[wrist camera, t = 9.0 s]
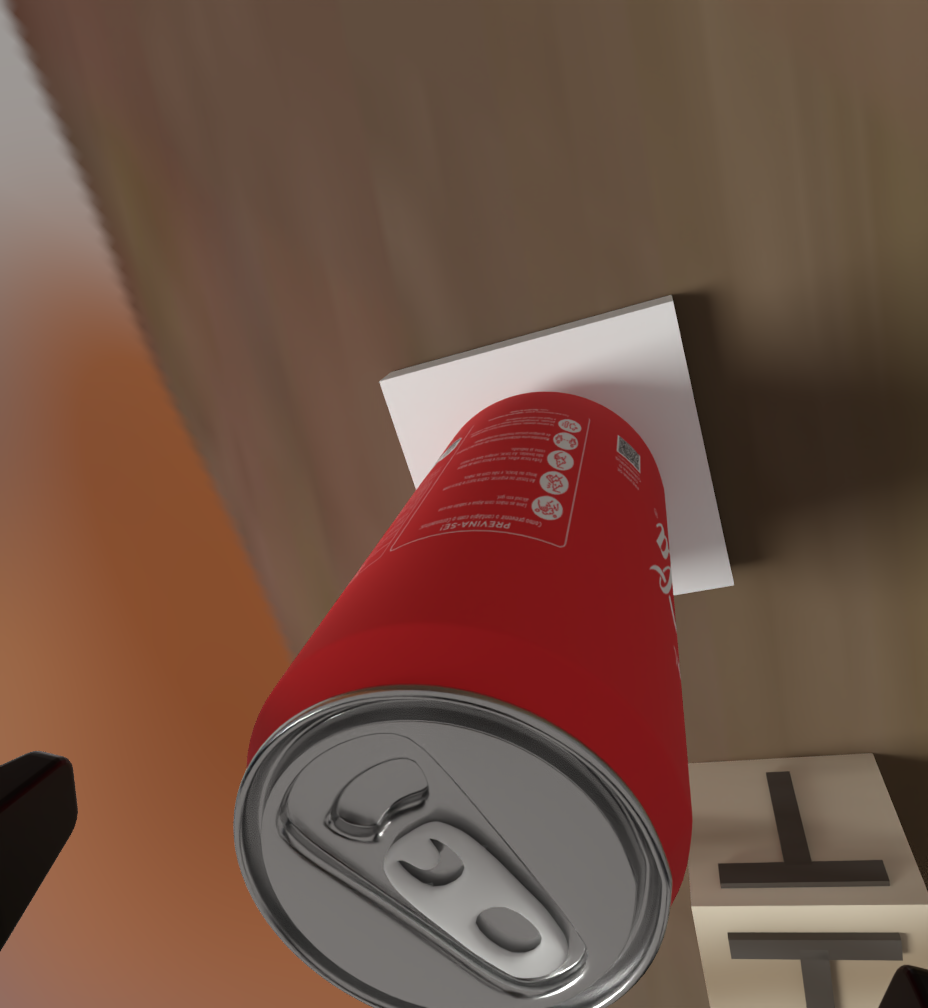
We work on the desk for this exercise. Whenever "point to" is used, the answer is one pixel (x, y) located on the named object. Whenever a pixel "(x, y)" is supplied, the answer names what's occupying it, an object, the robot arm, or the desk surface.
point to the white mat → (598, 377)
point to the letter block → (802, 883)
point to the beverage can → (486, 733)
